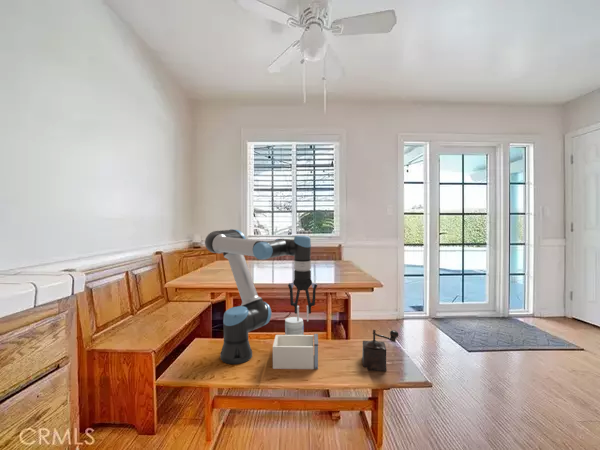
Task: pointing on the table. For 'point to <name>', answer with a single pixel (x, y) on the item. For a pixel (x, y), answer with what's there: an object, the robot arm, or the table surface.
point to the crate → (293, 352)
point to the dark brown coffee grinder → (376, 352)
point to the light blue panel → (316, 350)
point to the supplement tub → (294, 326)
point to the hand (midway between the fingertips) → (302, 320)
